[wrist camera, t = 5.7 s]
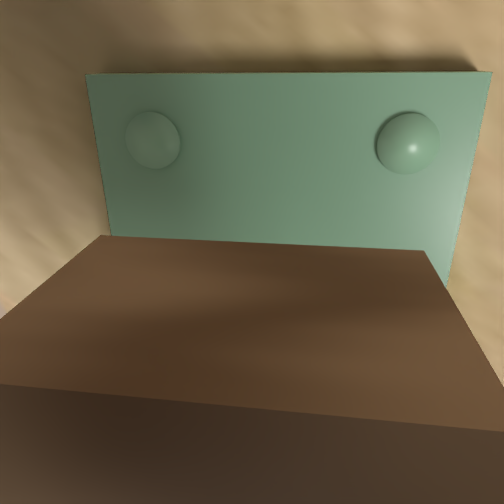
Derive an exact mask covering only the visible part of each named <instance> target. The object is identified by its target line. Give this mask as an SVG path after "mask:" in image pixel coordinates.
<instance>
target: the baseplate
mask: <svg viewBox="0 0 504 504" xmlns="http://www.w3.org/2000/svg"><path fill="white" fill-rule="evenodd" d="M491 76H492V72H485V71H401V72H237V73H97V74H85V78H86V84H87V90H88V96H89V102H90V108H91V114H92V120H93V126H94V132H95V139H96V145H97V151H98V157H99V163H100V169H101V175H102V181H103V187H104V193H105V199H106V206H107V212H108V218H109V224H110V230H111V236H127V237H148V238H169V239H191V240H212V241H233V242H254V243H276V244H297V245H318V246H340V247H361V248H382V249H403V250H424V251H425V253H426V255H427V257H428V258H429V260H430V262H431V263H432V265H433V267H434V269H435V270H436V272H437V274H438V275H439V277H440V279H441V281H442V282H443V284H444V286H445V287H446V286H447V282H448V277H449V272H450V268H451V263H452V258H453V254H454V249H455V244H456V240H457V235H458V230H459V226H460V221H461V216H462V212H463V207H464V202H465V198H466V193H467V188H468V184H469V179H470V174H471V170H472V165H473V160H474V156H475V151H476V146H477V142H478V137H479V132H480V128H481V123H482V118H483V114H484V109H485V104H486V100H487V95H488V90H489V86H490V81H491Z"/></svg>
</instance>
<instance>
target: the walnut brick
mask: <svg viewBox="0 0 504 504" xmlns="http://www.w3.org/2000/svg"><path fill="white" fill-rule="evenodd" d="M0 504H504V387H503V385H502V384H501V382H500V380H499V379H498V377H497V375H496V373H495V372H494V370H493V368H492V367H491V365H490V363H489V361H488V360H487V358H486V356H485V355H484V353H483V351H482V349H481V348H480V346H479V344H478V342H477V341H476V339H475V337H474V336H473V334H472V332H471V330H470V329H469V327H468V325H467V324H466V322H465V320H464V318H463V317H462V315H461V313H460V312H459V310H458V308H457V306H456V305H455V303H454V301H453V299H452V298H451V296H450V294H449V293H448V291H447V289H446V287H445V286H444V284H443V282H442V281H441V279H440V277H439V275H438V274H437V272H436V270H435V269H434V267H433V265H432V263H431V262H430V260H429V258H428V257H427V255H426V253H425V251H424V250H403V249H382V248H361V247H340V246H318V245H297V244H276V243H254V242H233V241H212V240H191V239H169V238H148V237H127V236H106V235H100V236H99V237H98V238H97V239H95V240H94V241H93V242H92V243H91V244H89V245H88V246H87V247H86V248H85V249H83V250H82V251H81V252H80V253H79V254H78V255H76V256H75V257H74V258H73V259H72V260H70V261H69V262H68V263H67V264H66V265H64V266H63V267H62V268H61V269H60V270H58V271H57V272H56V273H55V274H54V275H52V276H51V277H50V278H49V279H48V280H46V281H45V282H44V283H43V284H42V285H40V286H39V287H38V288H37V289H36V290H34V291H33V292H32V293H31V294H30V295H28V296H27V297H26V298H25V299H24V300H22V301H21V302H20V303H19V304H18V305H16V306H15V307H14V308H13V309H12V310H11V311H9V312H8V313H7V314H6V315H5V316H3V317H2V318H1V319H0Z"/></svg>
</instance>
